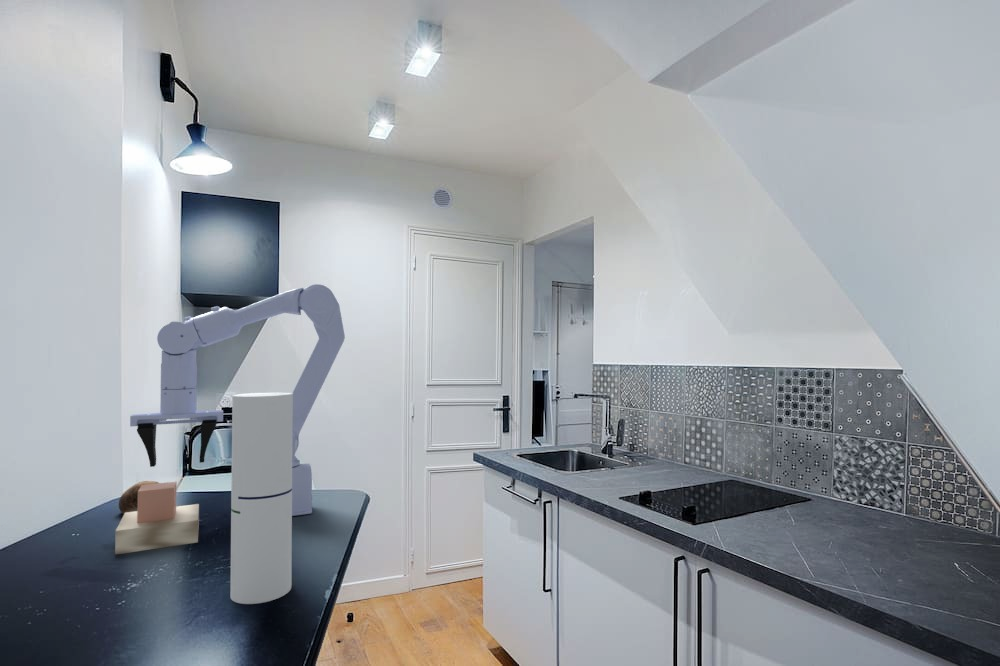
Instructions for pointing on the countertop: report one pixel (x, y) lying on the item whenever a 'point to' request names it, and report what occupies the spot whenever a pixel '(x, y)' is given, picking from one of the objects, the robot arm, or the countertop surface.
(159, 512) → the terracotta cube
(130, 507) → the mushroom
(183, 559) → the countertop surface
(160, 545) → the birch block
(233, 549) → the cylindrical container
